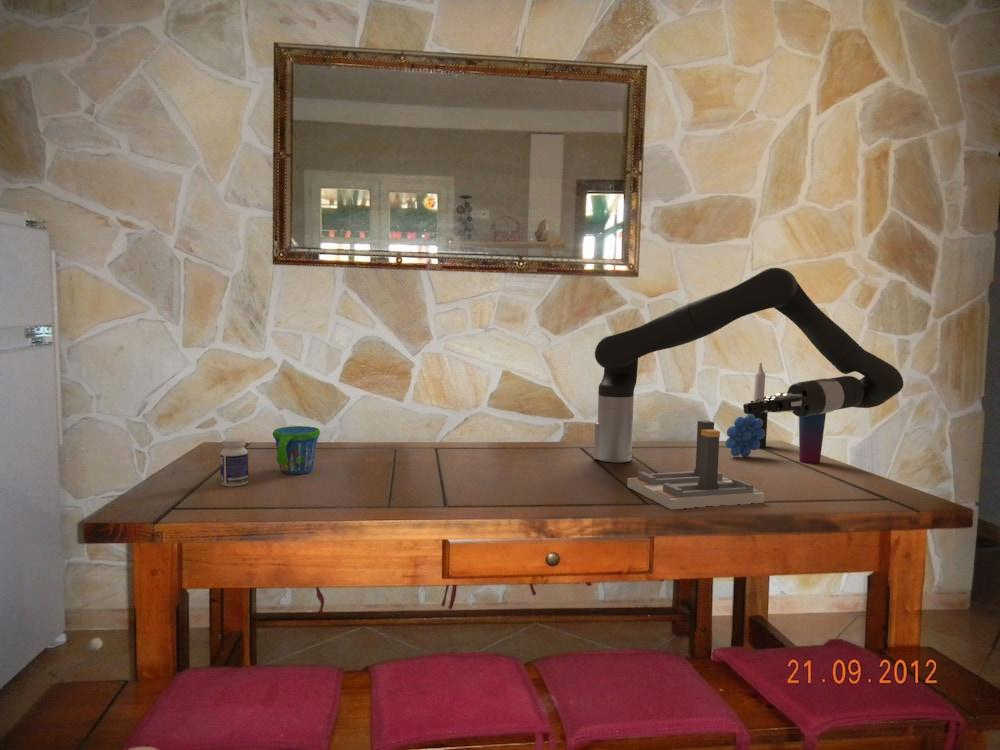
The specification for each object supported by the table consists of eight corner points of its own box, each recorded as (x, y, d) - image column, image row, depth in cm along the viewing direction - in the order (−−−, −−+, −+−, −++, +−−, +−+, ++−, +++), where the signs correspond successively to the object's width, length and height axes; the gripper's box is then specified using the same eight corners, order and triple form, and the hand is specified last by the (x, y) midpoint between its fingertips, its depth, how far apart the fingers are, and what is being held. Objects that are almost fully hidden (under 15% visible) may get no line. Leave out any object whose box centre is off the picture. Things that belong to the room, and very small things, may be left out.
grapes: (754, 453, 205) (756, 411, 204) (768, 458, 198) (770, 414, 197) (717, 454, 202) (719, 411, 201) (729, 459, 196) (731, 415, 195)
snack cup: (299, 481, 163) (298, 436, 162) (258, 477, 166) (257, 433, 165) (332, 466, 178) (332, 426, 177) (295, 463, 181) (294, 423, 180)
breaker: (705, 492, 150) (708, 432, 149) (697, 488, 153) (700, 429, 152) (718, 491, 151) (721, 431, 150) (710, 488, 154) (712, 429, 153)
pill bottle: (253, 482, 161) (253, 438, 160) (236, 488, 156) (236, 442, 155) (232, 479, 163) (232, 436, 162) (215, 485, 158) (214, 440, 157)
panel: (670, 509, 145) (673, 435, 144) (627, 486, 163) (629, 421, 162) (764, 502, 151) (767, 432, 150) (712, 481, 170) (714, 418, 168)
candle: (766, 445, 217) (770, 362, 215) (764, 448, 212) (769, 363, 210) (748, 444, 219) (752, 361, 217) (746, 446, 215) (750, 362, 212)
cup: (826, 465, 190) (829, 408, 189) (798, 463, 192) (801, 407, 190) (820, 460, 197) (823, 405, 196) (793, 458, 198) (796, 404, 197)
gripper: (839, 415, 151) (766, 428, 147) (798, 413, 164) (730, 425, 159) (834, 379, 151) (761, 391, 147) (793, 380, 164) (726, 391, 159)
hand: (745, 409), depth 153 cm, fingers closed
